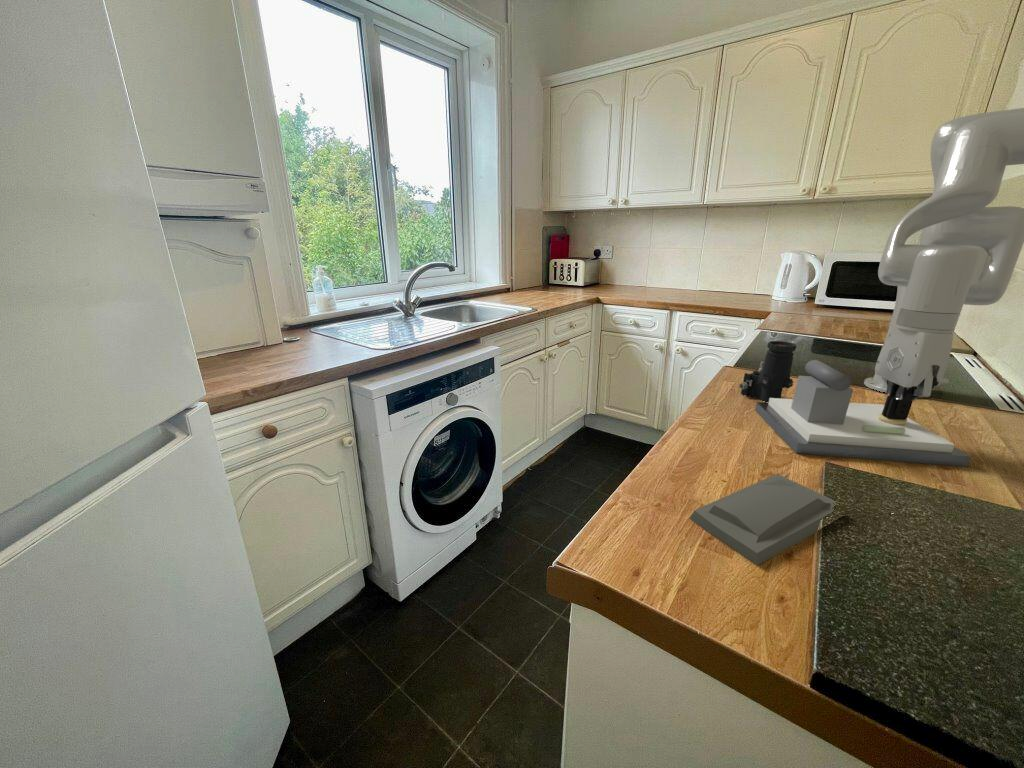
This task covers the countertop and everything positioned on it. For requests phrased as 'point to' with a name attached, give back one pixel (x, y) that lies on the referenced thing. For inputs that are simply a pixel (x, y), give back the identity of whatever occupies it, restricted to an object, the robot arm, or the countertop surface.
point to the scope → (771, 373)
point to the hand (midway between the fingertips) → (893, 417)
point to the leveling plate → (848, 415)
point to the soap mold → (765, 517)
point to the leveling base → (855, 451)
